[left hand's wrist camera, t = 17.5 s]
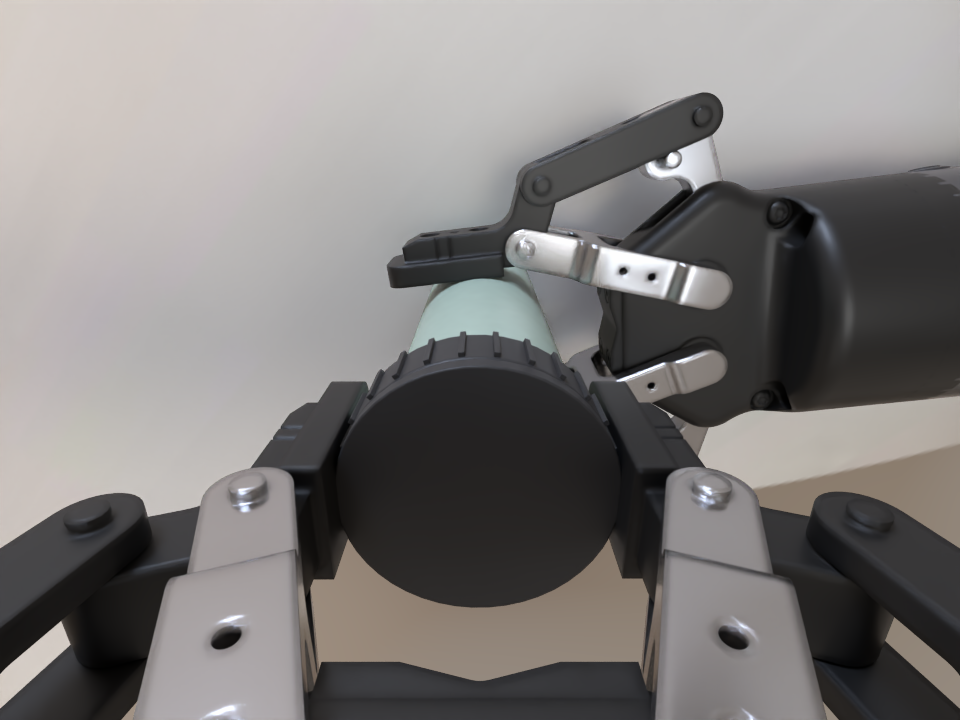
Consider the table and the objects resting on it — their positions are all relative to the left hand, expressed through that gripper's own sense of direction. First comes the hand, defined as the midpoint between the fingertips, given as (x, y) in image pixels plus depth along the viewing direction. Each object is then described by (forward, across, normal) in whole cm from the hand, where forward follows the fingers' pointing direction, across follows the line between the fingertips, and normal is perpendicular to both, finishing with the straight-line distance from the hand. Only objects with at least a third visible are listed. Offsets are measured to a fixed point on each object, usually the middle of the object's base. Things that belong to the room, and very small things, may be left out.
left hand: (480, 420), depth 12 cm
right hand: (+7, -3, -1) cm, 7 cm away
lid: (-3, 0, 0) cm, 3 cm away
